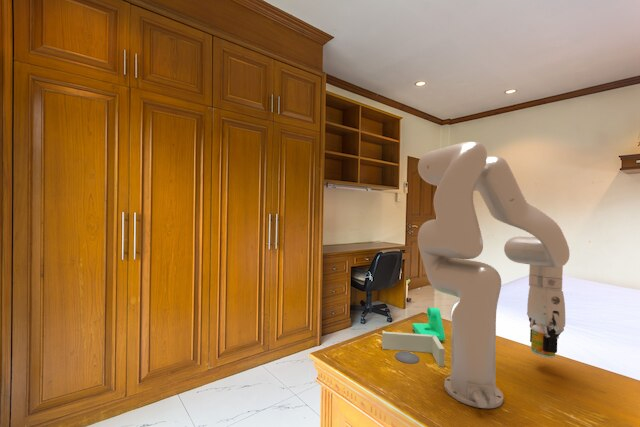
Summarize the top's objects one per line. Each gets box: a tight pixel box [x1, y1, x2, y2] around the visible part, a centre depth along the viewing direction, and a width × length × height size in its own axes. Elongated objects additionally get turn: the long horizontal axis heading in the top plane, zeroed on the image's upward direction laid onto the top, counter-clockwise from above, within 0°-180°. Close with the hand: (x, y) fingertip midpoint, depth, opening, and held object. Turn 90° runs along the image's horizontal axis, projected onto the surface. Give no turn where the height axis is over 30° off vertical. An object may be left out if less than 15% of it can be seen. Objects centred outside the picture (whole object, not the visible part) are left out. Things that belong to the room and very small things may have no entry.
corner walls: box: [381, 330, 446, 368], centre depth 90 cm, size 10×17×5 cm, turn 82°
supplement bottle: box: [530, 320, 556, 359], centre depth 83 cm, size 5×5×10 cm
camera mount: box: [412, 307, 446, 341], centre depth 107 cm, size 12×8×10 cm, turn 179°
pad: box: [394, 351, 420, 365], centre depth 89 cm, size 7×7×1 cm
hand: (542, 346), depth 83 cm, fingers closed on supplement bottle, 5 cm apart
